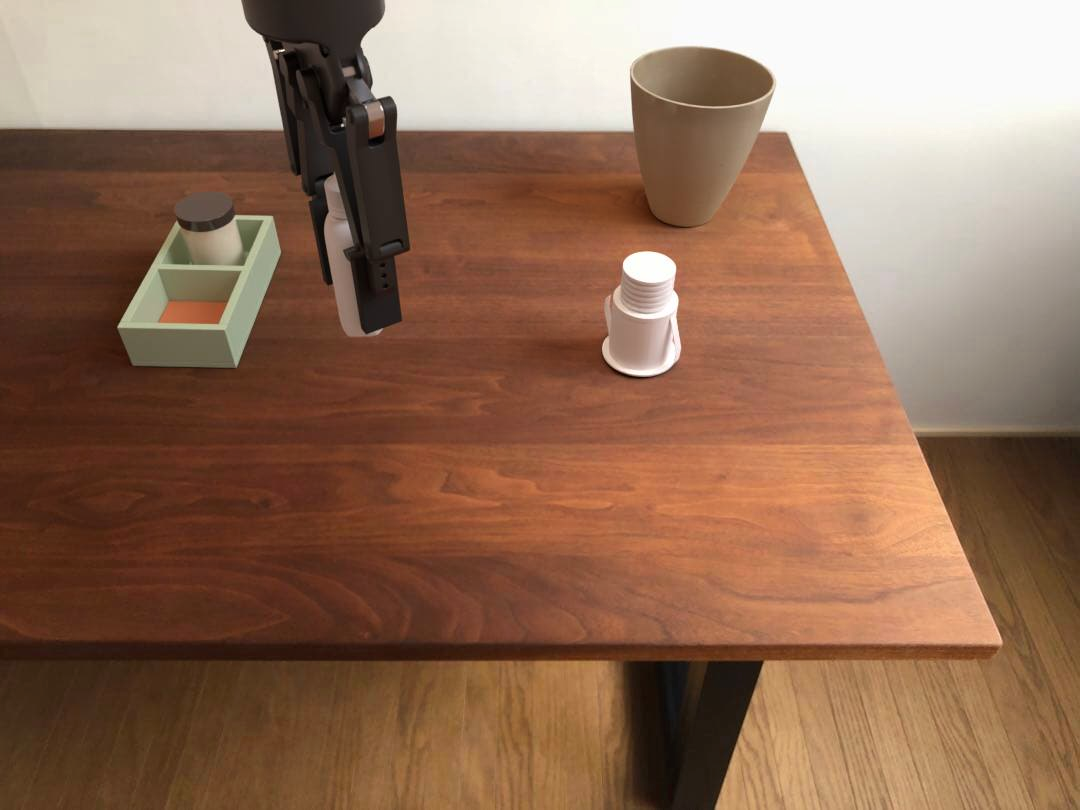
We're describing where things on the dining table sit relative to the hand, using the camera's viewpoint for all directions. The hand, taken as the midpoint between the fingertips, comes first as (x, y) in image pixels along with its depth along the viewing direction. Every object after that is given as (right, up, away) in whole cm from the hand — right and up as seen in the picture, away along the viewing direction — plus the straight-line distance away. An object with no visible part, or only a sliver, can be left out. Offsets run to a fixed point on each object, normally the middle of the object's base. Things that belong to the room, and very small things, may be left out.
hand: (361, 299), depth 62 cm
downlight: (+22, -3, +22) cm, 31 cm away
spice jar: (-20, +6, +29) cm, 36 cm away
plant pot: (+29, +15, +40) cm, 52 cm away
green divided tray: (-20, +3, +26) cm, 33 cm away
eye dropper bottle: (0, -1, +1) cm, 2 cm away
